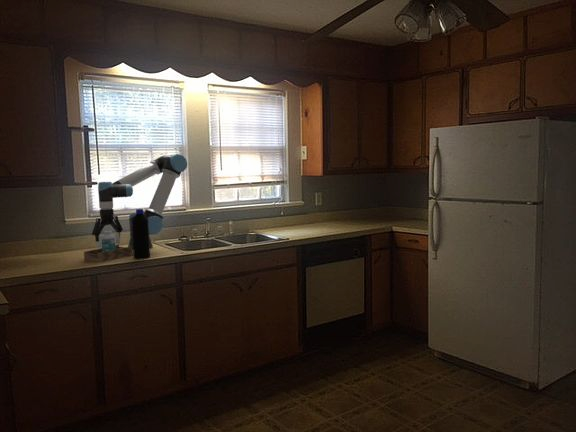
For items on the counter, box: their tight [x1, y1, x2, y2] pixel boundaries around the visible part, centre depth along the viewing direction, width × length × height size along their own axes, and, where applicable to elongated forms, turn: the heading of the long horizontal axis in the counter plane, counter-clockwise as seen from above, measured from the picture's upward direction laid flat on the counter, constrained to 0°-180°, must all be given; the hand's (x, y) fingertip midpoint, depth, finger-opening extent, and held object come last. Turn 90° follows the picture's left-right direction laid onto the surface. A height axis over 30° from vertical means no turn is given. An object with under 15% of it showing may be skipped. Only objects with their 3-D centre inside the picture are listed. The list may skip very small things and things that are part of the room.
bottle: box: [132, 208, 151, 260], centre depth 283 cm, size 9×9×28 cm
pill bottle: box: [100, 230, 116, 252], centre depth 285 cm, size 8×7×14 cm
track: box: [83, 244, 134, 263], centre depth 286 cm, size 24×13×5 cm, turn 151°
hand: (108, 245), depth 286 cm, fingers open, 13 cm apart
